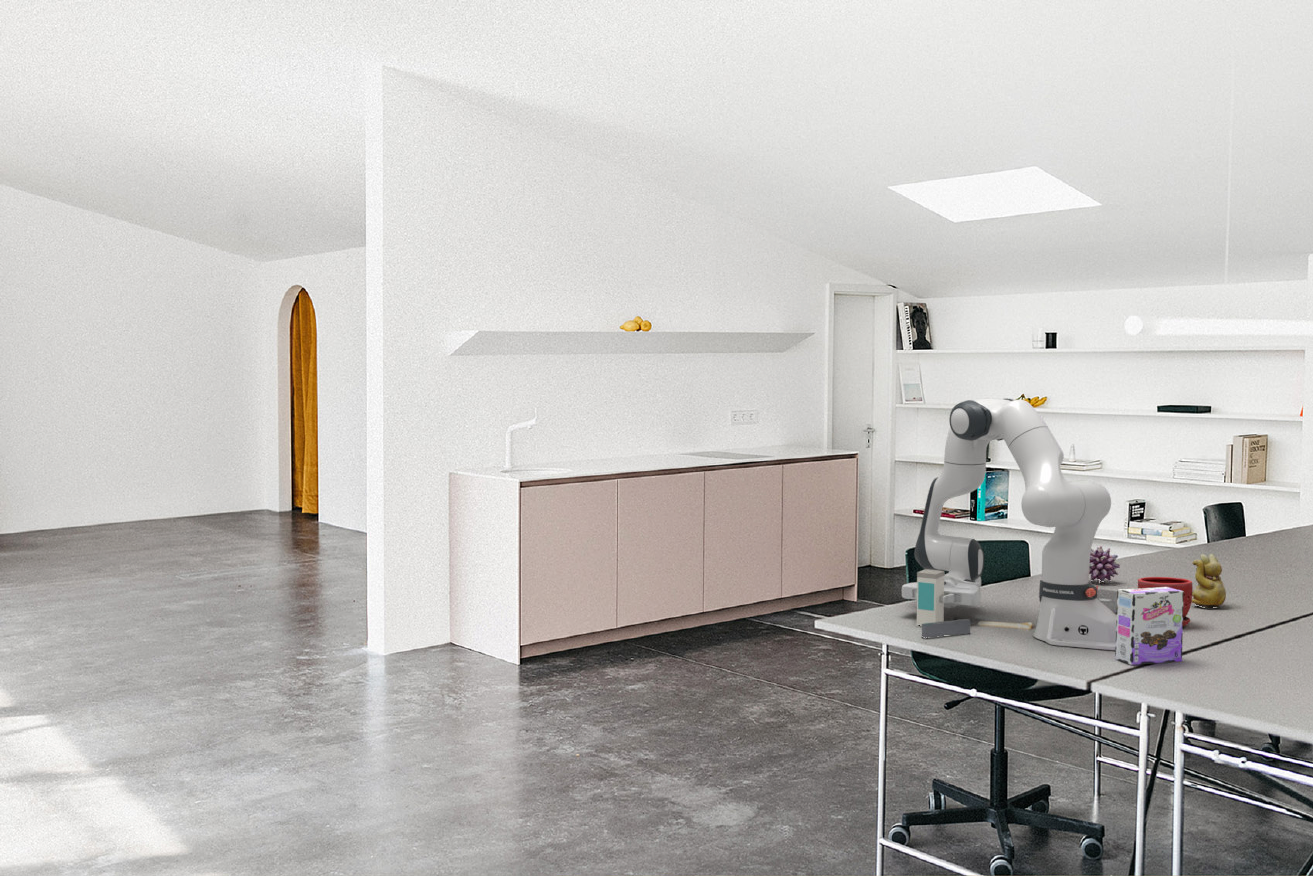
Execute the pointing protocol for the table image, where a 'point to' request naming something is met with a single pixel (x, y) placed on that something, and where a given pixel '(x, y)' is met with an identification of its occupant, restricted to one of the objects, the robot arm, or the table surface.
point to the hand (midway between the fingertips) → (929, 598)
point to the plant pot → (1175, 584)
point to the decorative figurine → (1208, 583)
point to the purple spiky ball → (1102, 564)
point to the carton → (930, 596)
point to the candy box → (1149, 625)
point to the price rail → (946, 628)
